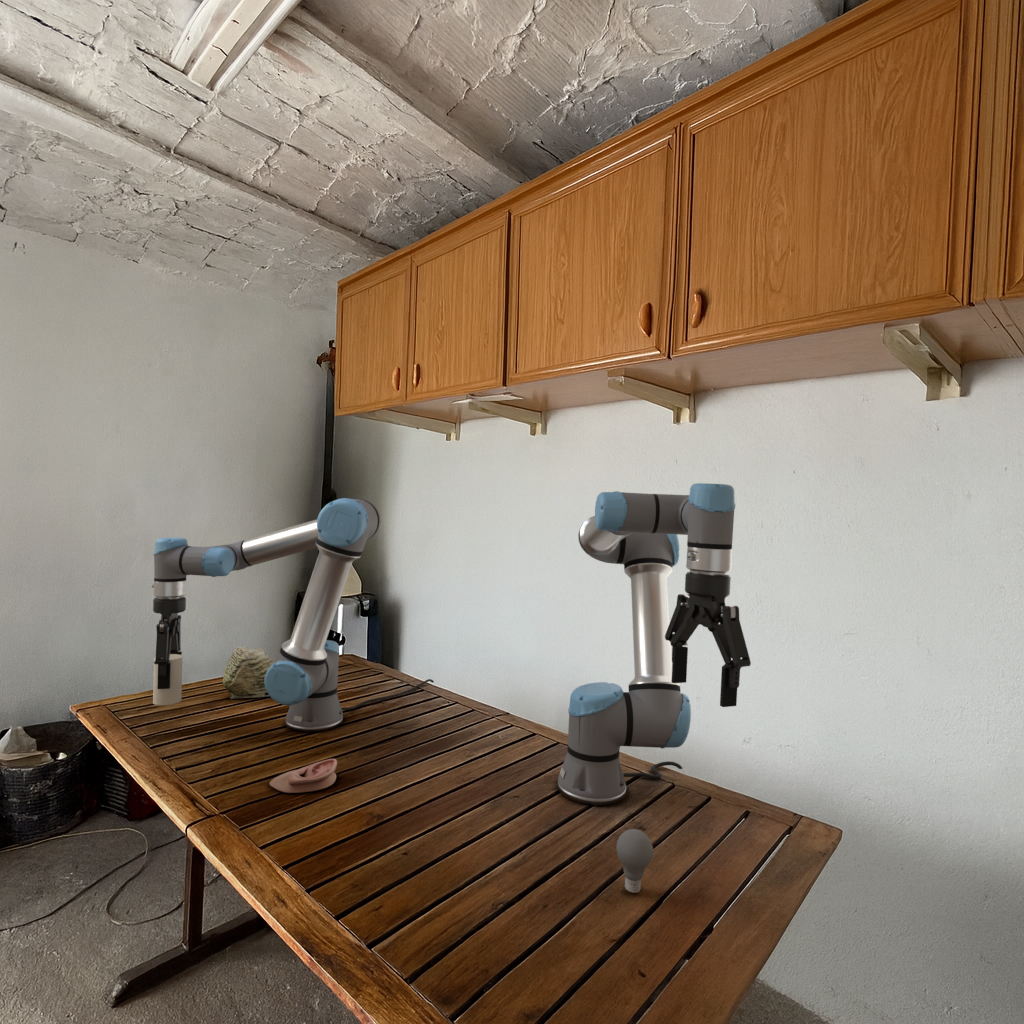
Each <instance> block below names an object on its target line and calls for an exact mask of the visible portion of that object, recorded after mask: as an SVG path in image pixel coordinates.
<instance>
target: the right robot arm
mask: <svg viewBox="0 0 1024 1024" xmlns="http://www.w3.org/2000/svg"><path fill="white" fill-rule="evenodd" d="M735 502H736V501H735V488H734V487H733V485H730V484H726V483H703V482H701V483H700V482H699V483H697V482H696V483H693V484H692V485H691V486H690V488H689V494H670V493H669V494H666V493H643V492H641V493H640V492H623V491H618V490H615V491H603V492H600V493H599V494H598V495H597V496H596V500H595V504H594V505H595V506H594V515H593V516H591V517H589V518H587V519H585V521H583V523H582V525H581V526H580V528H579V531H578V534H577V536H578V538H577V539H578V543H579V545H580V548H581V549H582V551H584V553H585V554H586V555H588V556H589V557H590V558H592V559H594V560H596V561H599V562H602V563H607V564H611V565H612V564H614V565H623V569H624V570H623V571H624V574H625V575H626V576H627V577H628V578H629V579H630V589H631V592H630V593H631V613H632V614H631V616H632V617H631V619H632V640H633V641H632V642H633V662H634V663H633V667H634V669H633V670H634V678H633V679H632V680H631V681H630V682H629V683H628V691H624V690H623V688H622V686H620V685H619V684H616V683H613V682H611V683H610V682H601V681H599V682H591V683H590V682H589V683H585V684H581V685H580V686H577V687H576V688H574V689H573V690H572V692H571V693H570V696H569V704H568V709H567V711H568V729H567V730H568V731H567V750H566V754H565V758H564V761H563V763H562V765H561V768H560V771H559V774H558V777H557V790H558V792H559V793H560V794H561V795H562V796H564V797H565V798H566V799H568V800H571V801H573V802H576V803H579V804H582V805H588V806H589V805H590V806H608V805H609V806H610V805H613V804H617V803H619V802H622V800H624V798H625V797H626V795H627V784H626V778H636V777H639V778H640V777H643V778H647V779H652V780H660V779H661V777H662V774H661V773H660V771H658V770H657V769H658V768H662V767H664V766H673V767H676V768H677V769H679V770H683V769H684V768H683V767H682V765H681V764H679V763H678V762H675V761H667V760H666V761H661V762H658V763H655V764H653V765H652V766H651V767H650V770H651V772H652V773H653V774H650V773H646V772H624V771H623V768H622V767H623V766H622V764H621V759H620V748H621V747H631V748H632V747H633V748H634V747H635V748H659V749H662V750H663V749H665V748H667V749H670V748H671V749H673V748H674V749H675V748H679V747H681V746H683V745H684V743H685V742H686V740H687V738H688V735H689V732H690V727H691V721H692V720H691V719H692V706H691V702H690V697H689V696H688V695H687V694H685V693H682V692H681V685H680V684H683V683H685V684H686V683H687V675H688V673H687V672H688V655H689V654H688V653H689V647H688V645H689V644H688V640H690V638H691V636H692V635H693V634H694V632H695V631H696V630H697V628H698V627H699V625H701V626H702V627H704V628H707V630H708V631H709V632H710V633H711V634H712V636H713V638H714V641H715V643H716V646H717V648H718V650H719V652H720V655H721V657H722V660H723V662H724V664H723V665H722V666H721V678H720V697H719V706H720V707H722V708H729V707H737V703H738V700H737V699H738V688H739V687H740V677H741V668H745V667H750V666H751V665H752V662H751V658H750V654H749V651H748V650H749V649H748V647H747V644H746V640H745V636H744V632H743V629H742V628H743V627H742V624H741V621H740V607H739V606H738V605H726V598H727V597H729V596H730V595H731V578H732V577H731V576H730V574H728V573H731V571H732V566H733V565H732V563H733V538H734V520H735V509H736V503H735ZM678 535H680V536H681V535H683V536H687V539H686V541H687V542H686V546H687V549H686V565H685V568H686V569H687V570H689V571H687V572H686V573H685V576H684V577H685V578H684V580H685V581H684V592H685V593H679V594H677V597H676V605H675V608H674V611H673V613H672V616H671V619H670V610H669V594H668V581H667V578H668V577H669V576H670V575H671V574H672V573H673V567H675V566H677V564H678V563H679V560H680V552H679V551H680V540H679V536H678Z"/></svg>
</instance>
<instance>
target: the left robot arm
mask: <svg viewBox="0 0 1024 1024" xmlns="http://www.w3.org/2000/svg"><path fill="white" fill-rule="evenodd" d="M381 526H382V515H381V513H380V510H379V509H378V506H376V505H375V504H374V503H373V502H371V501H369V500H367V499H364V498H349V497H342V498H338V499H335V500H332V501H329V502H328V503H327V504H325V505H324V506H323V508H322V509H321V510H320V511H319V513H318V516H317V518H316V519H314V520H313V519H312V520H310V521H306V522H303V523H300V524H295V525H292V526H289V527H285V528H281V529H279V530H275V531H271V532H268V533H265V534H261V535H257V536H254V537H251V538H247V539H243V540H239V541H235V542H232V543H227V544H220V545H219V544H218V545H210V546H192V545H191V546H190V545H189V544H188V539H187V538H186V537H159V538H157V539H156V540H155V542H154V552H153V553H154V554H153V565H154V566H153V567H154V574H153V583H152V584H151V588H153V596H154V599H152V602H153V603H152V611H153V613H155V614H160V615H161V616H160V619H159V620H158V623H157V624H156V626H155V628H156V642H155V657H156V659H155V662H154V661H153V665H154V664H158V688H157V689H169V688H170V664H171V663H169V658H170V654H179V655H183V651H182V648H181V647H182V646H181V645H182V643H181V641H182V640H181V635H182V634H181V630H182V629H181V628H182V627H181V623H182V622H181V621H182V615H181V614H180V613H184V612H185V611H186V610H187V609H186V608H187V598H186V596H187V576H200V577H201V576H203V577H212V578H215V577H216V578H217V577H226V576H228V575H230V574H231V572H233V571H241V570H245V569H246V568H249V567H252V566H256V565H259V564H263V563H267V562H270V561H274V560H277V559H281V558H285V557H288V556H292V555H295V554H300V553H302V552H306V551H309V550H313V549H318V555H317V558H316V561H315V564H314V567H313V570H312V573H311V576H310V579H309V581H308V585H307V588H306V591H305V594H304V597H303V600H302V602H301V606H300V610H299V612H298V615H297V618H296V621H295V624H294V627H293V630H292V633H291V636H290V638H289V639H288V640H286V641H284V642H282V644H281V646H280V649H279V653H278V655H277V658H276V661H275V662H274V664H272V665H271V667H269V669H268V670H267V672H266V675H265V680H264V683H265V688H266V690H267V691H268V693H269V696H268V697H270V698H271V699H272V700H273V702H274V701H275V702H276V703H277V704H279V705H282V706H289V708H288V711H287V713H286V715H285V726H286V728H287V729H289V730H291V731H294V732H295V731H296V732H301V733H316V732H325V731H329V730H332V729H335V728H337V727H339V726H340V725H342V723H343V722H344V714H343V711H351V710H355V709H357V708H360V707H361V706H363V705H365V704H368V703H371V702H376V701H381V700H382V701H383V700H387V699H390V698H391V699H392V698H395V697H398V696H402V695H405V694H409V693H410V692H413V691H414V690H416V689H417V688H419V687H421V686H423V685H425V684H426V683H428V682H430V683H435V680H433V679H432V678H428V679H425V680H424V681H423V682H420V683H419V684H417V685H415V686H413V687H412V688H409V689H407V690H404V691H401V692H398V693H394V694H390V695H386V696H380V697H375V698H374V697H373V698H371V699H367V700H363V701H361V702H360V703H358V704H356V705H354V706H350V707H342V706H341V702H340V699H339V695H338V682H339V662H340V661H339V660H340V645H339V643H338V642H337V641H335V640H330V639H328V637H329V633H330V630H331V627H332V624H333V622H334V619H335V615H336V613H337V609H338V606H339V604H340V601H341V597H342V595H343V592H344V588H345V586H346V582H347V580H348V577H349V574H350V571H351V569H352V565H353V562H354V561H356V560H358V559H360V558H361V557H362V554H363V551H364V548H365V546H366V543H367V541H370V540H372V539H373V538H374V537H375V536H376V535H377V534H378V533H379V531H380V529H381Z"/></svg>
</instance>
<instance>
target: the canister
mask: <svg viewBox="0 0 1024 1024" xmlns="http://www.w3.org/2000/svg"><path fill="white" fill-rule="evenodd" d="M155 659H156V656H155V657H154V658H153V677H152V679H153V681H152V682H153V683H152V685H153V686H152V704H153V705H155V706H171V705H175V704H179V703H180V702H182V698H183V697H182V695H183V694H182V692H183V654H181V655H179V654H170V658H169V663H171V664H170V688H169V689H157V688H158V664H154V662H155Z"/></svg>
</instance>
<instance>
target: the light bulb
mask: <svg viewBox="0 0 1024 1024" xmlns="http://www.w3.org/2000/svg"><path fill="white" fill-rule="evenodd" d="M615 849H616V854H617V857H618V859H619V861H620V863H621V865H622V867H623V873H624V874H623V875H624V876H625V878H624V888H625V890H627V891H628V892H630V893H634V894H635V893H639V892H640V891H641V889H642V887H641V886H642V879H643V877H644V875H645V871H646V868H647V867H648V866H649V864H650V863H651V861H652V859H653V855H654V847H653V843H652V841H651V838H649V836H648V835H647V834H646V833H645V832H643V831H642V830H641V829H636V828H629V829H627V830H625V831H623V832H622V833H621V834H620V835H619V837H618V839H617V841H616V847H615Z"/></svg>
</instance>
